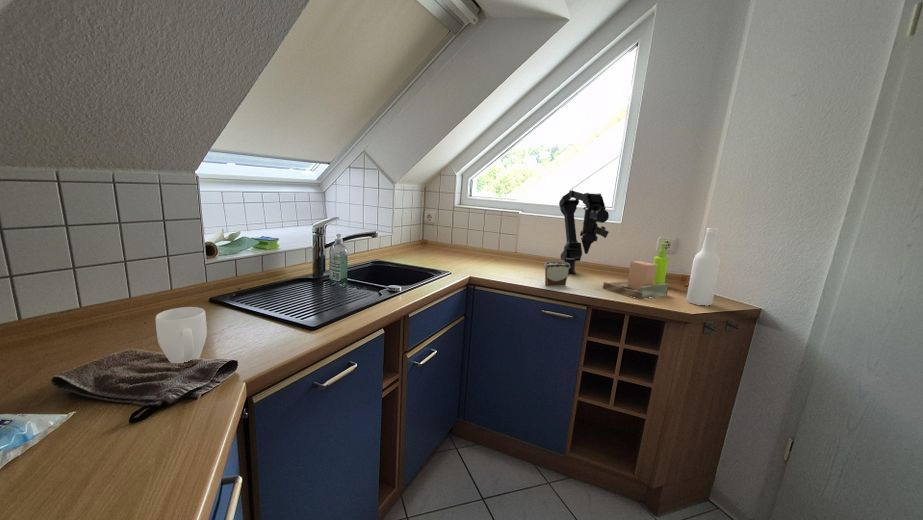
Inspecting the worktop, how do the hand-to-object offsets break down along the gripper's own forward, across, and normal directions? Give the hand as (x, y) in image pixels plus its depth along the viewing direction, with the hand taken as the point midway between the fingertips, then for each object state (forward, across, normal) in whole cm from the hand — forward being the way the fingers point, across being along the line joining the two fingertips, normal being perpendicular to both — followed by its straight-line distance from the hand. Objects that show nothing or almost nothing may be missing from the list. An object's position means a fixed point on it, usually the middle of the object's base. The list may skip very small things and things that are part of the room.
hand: (586, 253), depth 176 cm
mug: (+13, -125, +88) cm, 153 cm away
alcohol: (+13, -20, -43) cm, 49 cm away
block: (+10, -14, -22) cm, 28 cm away
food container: (+13, -16, +14) cm, 25 cm away
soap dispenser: (+13, +6, -34) cm, 37 cm away
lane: (+12, -12, -20) cm, 27 cm away
